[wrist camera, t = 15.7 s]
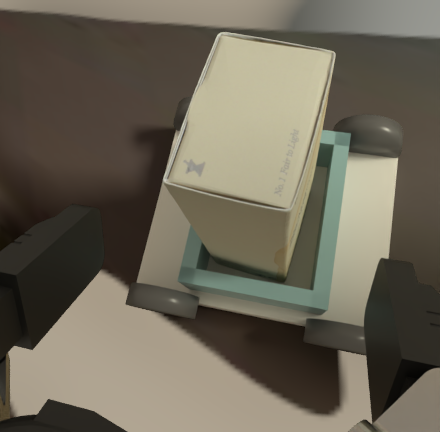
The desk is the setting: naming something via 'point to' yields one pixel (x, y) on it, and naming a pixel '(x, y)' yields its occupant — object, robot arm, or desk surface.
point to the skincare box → (251, 150)
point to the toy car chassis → (304, 251)
